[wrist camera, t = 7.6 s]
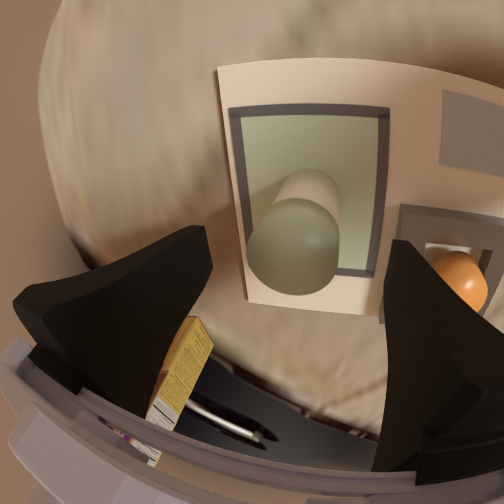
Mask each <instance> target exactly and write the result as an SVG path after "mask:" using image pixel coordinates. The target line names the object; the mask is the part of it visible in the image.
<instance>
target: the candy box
mask: <svg viewBox="0 0 504 504" xmlns="http://www.w3.org/2000/svg"><path fill="white" fill-rule="evenodd" d="M213 346H214V344H213V342H212V341H211V339H210V337H209V335H208V333H207V331H206V330H205V328H204V326H203V324H202V322H201V321H200V319H199V318H198V317H186V318H185V320H184V321H183V323H182V325H181V326H180V328H179V330H178V332H177V333H176V335H175V337H174V339H173V342H172V344H171V346H170V348H169V350H168V353H167V355H166V357H165V360H164V362H163V365H162V367H161V370H160V372H159V375H158V378H157V381H156V384H155V387H154V390H153V393H152V396H151V400H150V404H149V407H148V411H147V415H146V419H145V420H147V421H149V422H151V423H153V424H156V425H158V426H160V427H163V428H165V429H168V430H170V431H172V430H173V429H174V427H175V425H176V423H177V420H178V418H179V416H180V414H181V412H182V410H183V408H184V406H185V404H186V401H187V400H188V397H189V395H190V394H191V392H192V389H193V387H194V385H195V383H196V381H197V379H198V376H199V374H200V372H201V370H202V368H203V366H204V364H205V362H206V360H207V358H208V356H209V354H210V352H211V350H212V348H213ZM107 425H108V424H107ZM108 428H110V429H111V430H113V431H114V432H116V433H117V434H119V435H120V436H121V437H122V438H124V439H125V440H126V441H127V442H129V443H130V444H131V445H133V446H134V447H135V448H137V449H139V450H140V451H142V452H143V453H145V454H147V455H148V456H149V458H150V459H149V461H148V463H147V464H148V465H150V466H152V467H155V466H156V464H157V461H158V459H159V457H160V455H161V453H162V452H160V451H158V450H156V449H154V448H151V447H149V446H147V445H145V444H143V443H141V442H139V441H137V440H135V439H133V438H131V437H129V436H127V435H126V434H124V433H122V432H120V431H118V430H117V429H115V428H113V427H111V426H110V425H108Z"/></svg>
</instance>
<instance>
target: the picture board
mask: <svg viewBox="0 0 504 504" xmlns="http://www.w3.org/2000/svg"><path fill="white" fill-rule="evenodd" d="M217 70H218V78H219V86H220V94H221V102H222V110H223V118H224V126H225V134H226V141H227V149H228V156H229V164H230V172H231V179H232V186H233V194H234V201H235V208H236V216H237V223H238V230H239V237H240V244H241V251H242V258H243V265H244V272H245V279H246V286H247V293H248V300H249V302H251V303H258V304H266V305H274V306H282V307H290V308H298V309H307V310H316V311H326V312H336V313H347V314H358V315H370V316H379V308H380V304H381V300H382V296H383V284H384V279H385V275H386V270H387V265H388V260H389V255H390V250H391V245H392V239H395V235H396V229H397V223H398V216H399V210H400V204H409V205H418V206H427V207H435V208H442V209H450V210H457V211H464V212H470V213H477V214H483V215H489V216H495V217H500V218H504V89H501V88H499V87H496V86H493V85H490V84H487V83H484V82H481V81H478V80H474V79H471V78H468V77H464V76H460V75H457V74H453V73H449V72H444V71H440V70H435V69H431V68H426V67H420V66H414V65H408V64H402V63H394V62H386V61H377V60H365V59H348V58H296V59H279V60H267V61H257V62H248V63H241V64H234V65H227V66H221V67H217ZM302 169H315V170H319V171H322V172H323V173H325V174H327V175H328V176H329V177H331V178H332V180H333V181H334V182H335V184H336V185H337V187H338V190H339V195H340V203H339V222H338V228H339V233H340V244H339V259H338V268H337V271H336V274H335V276H334V278H333V279H332V281H331V282H330V283H329V284H328V285H327V286H326V287H324V288H323V289H321V290H319V291H318V292H315V293H312V294H308V295H300V296H295V295H287V294H283V293H280V292H277V291H275V290H272V289H270V288H269V287H267V286H266V285H264V284H263V283H262V282H261V281H260V280H258V279H257V277H256V276H255V275H254V274H253V272H252V271H251V269H250V267H249V264H248V262H247V257H246V246H247V242H248V240H249V237H250V236H251V234H252V232H253V231H254V229H255V227H256V225H257V224H258V222H259V220H260V219H261V217H262V215H263V214H264V212H265V211H266V210H267V209H268V208H269V207H270V206H271V205H272V203H273V201H274V200H275V198H276V196H277V194H278V193H279V191H280V189H281V188H282V186H283V184H284V182H285V181H286V179H287V178H288V177H289V176H290V175H291V174H293V173H294V172H296V171H299V170H302ZM450 251H463V252H466V253H468V254H470V255H471V256H472V257H473V258H474V260H475V261H476V263H477V265H478V263H479V260H480V258H481V255H482V252H483V249H478V248H469V247H460V246H451V245H442V244H432V243H426V246H425V250H424V254H423V257H424V258H425V260H426V261H427V262H428V263H429V264H430V263H431V262H432V261H433V260H434V259H435V258H437V257H438V256H440V255H442V254H444V253H447V252H450Z"/></svg>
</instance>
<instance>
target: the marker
mask: <svg viewBox="0 0 504 504" xmlns="http://www.w3.org/2000/svg"><path fill="white" fill-rule="evenodd" d="M339 203H340V195H339V190H338V187H337V185H336V184H335V182H334V181H333V180H332V178H331V177H329V176H328V175H327V174H325V173H323V172H322V171H319V170H315V169H302V170H299V171H296V172H294V173H293V174H291V175H290V176H289V177H288V178H287V179H286V181H285V182H284V184H283V186H282V188H281V189H280V191H279V193H278V194H277V196H276V198H275V200H274V201H273V203H272V205H271V206H270V207H269V208H268V209H267V210H266V211H265V212H264V214H263V215H262V217H261V219H260V220H259V222H258V224H257V225H256V227H255V229H254V231H253V232H252V234H251V236H250V237H249V240H248V242H247V246H246V257H247V262H248V264H249V267H250V269H251V271H252V272H253V274H254V275H255V276H256V277H257V279H258V280H260V281H261V282H262V283H263V284H264V285H266V286H267V287H269V288H270V289H272V290H275V291H277V292H280V293H283V294H287V295H295V296H300V295H308V294H312V293H315V292H318V291H319V290H321V289H323V288H324V287H326V286H327V285H328V284H329V283H330V282H331V281H332V279H333V278H334V276H335V274H336V271H337V268H338V259H339V244H340V233H339V228H338V222H339Z"/></svg>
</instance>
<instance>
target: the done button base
mask: <svg viewBox="0 0 504 504" xmlns="http://www.w3.org/2000/svg"><path fill="white" fill-rule="evenodd" d="M395 239H396V240H407V241H409V242H410V243H411V244H412V245H413V246H414V247H415V248H416V249H417V250H418V252H419V253H420V254H421V255H422V256H423V254H424V250H425V246H426V243H432V244H442V245H451V246H460V247H469V248H478V249H483V252H482V255H481V258H480V260H479V263H478V267H479V269H480V271H481V273H482V275H483V277H484V279H485V281H486V284H487V288H488V293H487V298H486V300H485V303H484V305H483V306H482V308H481V309H480V310H479V311H478V312H477V313H478V314H479V315H480V316H482V317H483V315H484V313H485V311H486V309H487V307H488V305H489V303H490V301H491V299H492V297H493V295H494V293H495V291H496V289H497V287H498V284H499V282H500V280H501V278H502V275H503V273H504V218H500V217H495V216H489V215H483V214H477V213H470V212H464V211H457V210H450V209H442V208H435V207H427V206H418V205H409V204H400V210H399V216H398V223H397V229H396V235H395ZM379 324H385V318H384V308H383V296H382V300H381V304H380V308H379Z"/></svg>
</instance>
